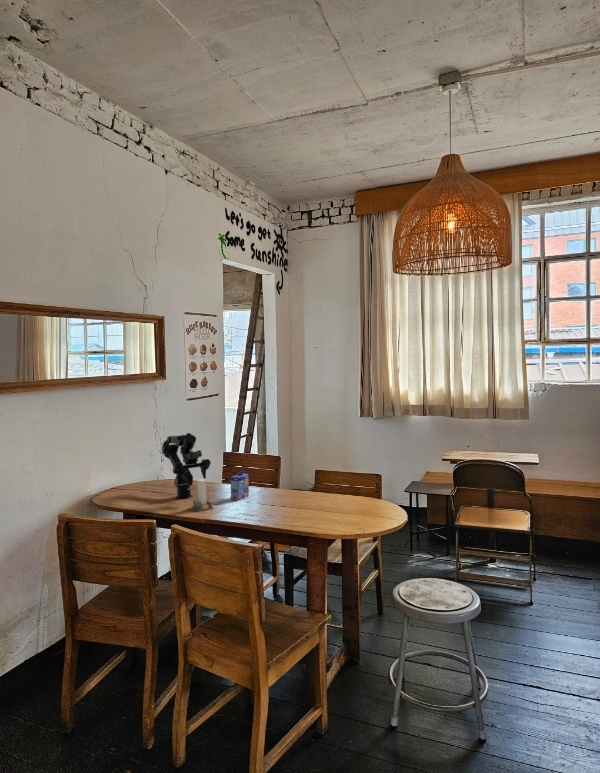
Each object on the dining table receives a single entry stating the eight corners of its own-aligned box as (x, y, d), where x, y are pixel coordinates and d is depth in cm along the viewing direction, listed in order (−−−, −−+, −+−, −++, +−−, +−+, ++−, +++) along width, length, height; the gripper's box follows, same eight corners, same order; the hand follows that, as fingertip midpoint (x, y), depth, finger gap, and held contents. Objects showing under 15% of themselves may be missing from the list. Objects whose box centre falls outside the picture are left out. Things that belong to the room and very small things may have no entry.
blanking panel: (198, 505, 259) (197, 479, 259) (203, 504, 261) (201, 478, 260) (202, 507, 255) (200, 481, 255) (206, 506, 256) (205, 480, 256)
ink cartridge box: (239, 501, 269) (238, 473, 269) (230, 500, 272) (229, 472, 271) (249, 496, 278) (248, 469, 277) (241, 495, 281) (240, 468, 280)
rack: (192, 507, 260) (192, 500, 260) (205, 504, 264) (205, 498, 264) (199, 511, 252) (198, 504, 252) (212, 508, 256) (212, 502, 256)
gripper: (173, 447, 262) (181, 473, 253) (208, 443, 272) (217, 467, 263) (169, 460, 269) (177, 486, 260) (203, 456, 279) (212, 480, 270)
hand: (196, 479), depth 263 cm, fingers open, 9 cm apart
